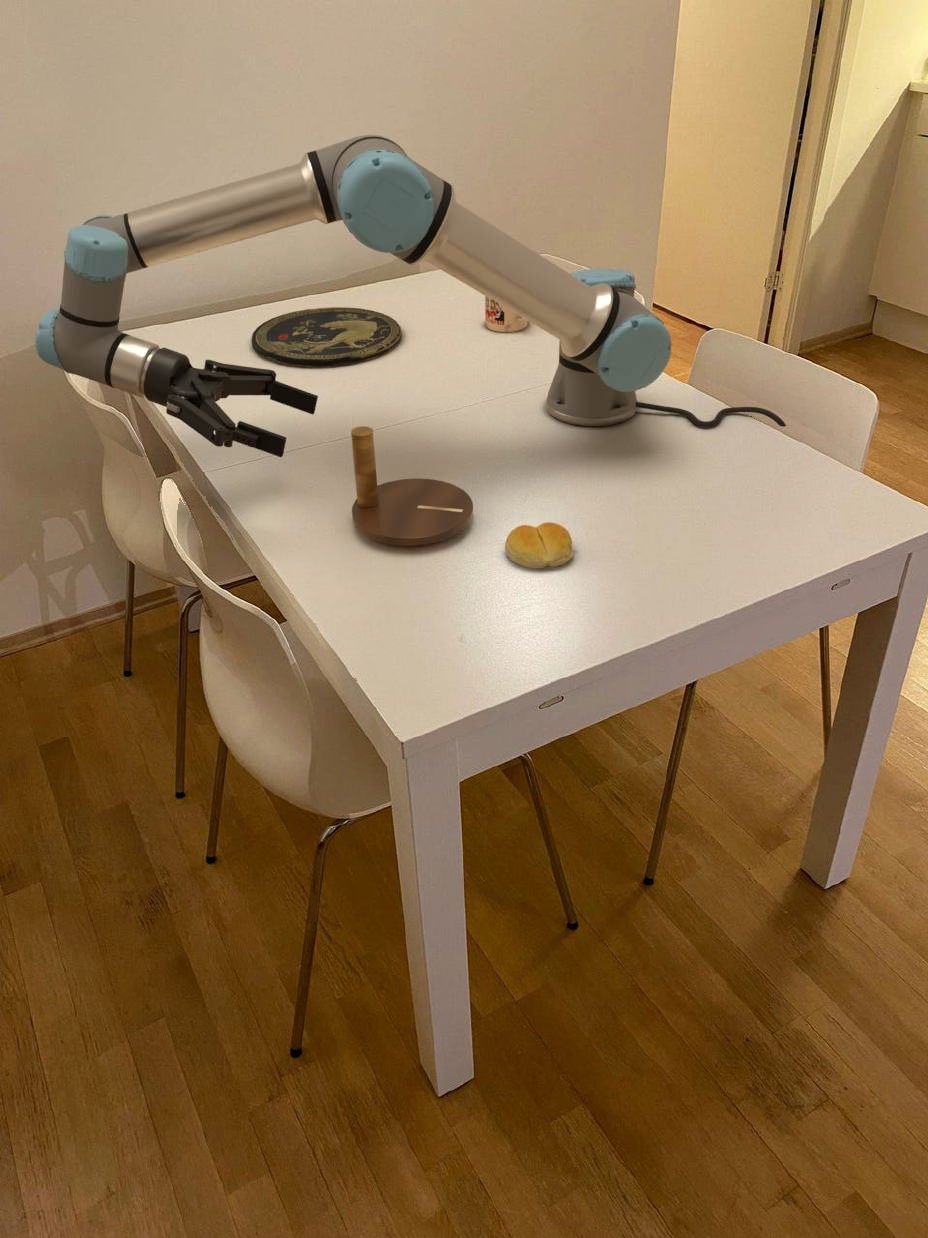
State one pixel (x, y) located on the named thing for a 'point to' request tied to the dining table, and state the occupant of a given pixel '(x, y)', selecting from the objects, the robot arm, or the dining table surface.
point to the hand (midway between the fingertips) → (300, 425)
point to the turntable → (404, 502)
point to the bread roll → (539, 545)
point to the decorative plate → (326, 337)
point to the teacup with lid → (502, 318)
